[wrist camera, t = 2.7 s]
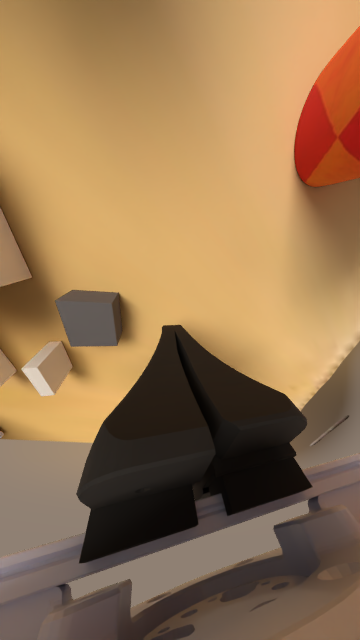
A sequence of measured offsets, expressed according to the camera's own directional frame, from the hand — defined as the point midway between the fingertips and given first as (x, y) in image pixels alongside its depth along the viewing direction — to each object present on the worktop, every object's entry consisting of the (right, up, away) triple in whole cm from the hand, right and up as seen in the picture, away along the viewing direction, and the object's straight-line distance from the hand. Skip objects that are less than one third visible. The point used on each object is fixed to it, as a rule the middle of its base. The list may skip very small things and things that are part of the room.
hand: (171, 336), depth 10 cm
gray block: (-7, +2, +3) cm, 8 cm away
